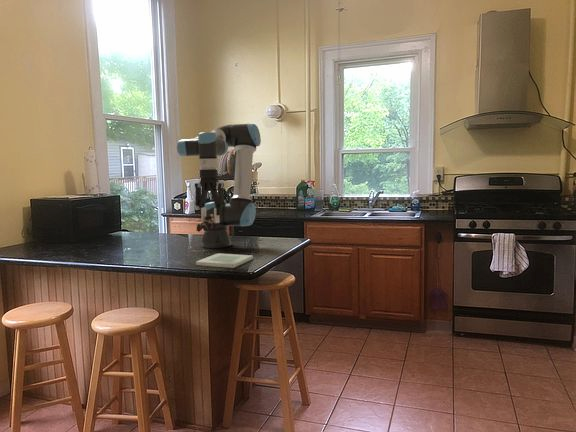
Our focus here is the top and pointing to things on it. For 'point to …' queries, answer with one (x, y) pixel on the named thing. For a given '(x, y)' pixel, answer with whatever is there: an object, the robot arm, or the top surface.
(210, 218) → the toy
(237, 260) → the baseplate
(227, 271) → the top surface
